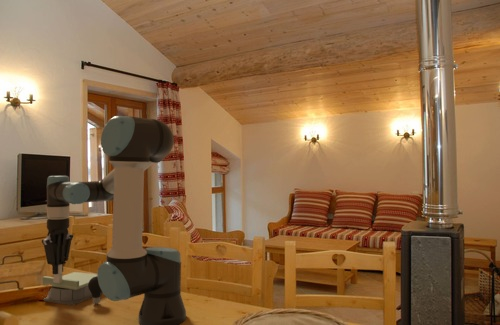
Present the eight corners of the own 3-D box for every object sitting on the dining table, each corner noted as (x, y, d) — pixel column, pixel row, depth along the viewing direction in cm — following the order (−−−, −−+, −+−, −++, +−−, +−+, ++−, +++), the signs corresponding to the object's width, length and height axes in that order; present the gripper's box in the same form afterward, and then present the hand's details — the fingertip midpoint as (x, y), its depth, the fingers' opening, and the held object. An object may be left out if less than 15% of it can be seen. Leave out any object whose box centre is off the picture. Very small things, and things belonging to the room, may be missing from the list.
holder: (103, 292, 162) (103, 280, 162) (72, 305, 147) (72, 292, 147) (71, 288, 168) (71, 276, 168) (38, 300, 153) (38, 287, 153)
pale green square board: (106, 278, 164) (106, 270, 164) (76, 289, 149) (76, 281, 149) (74, 274, 169) (74, 267, 169) (42, 285, 154) (42, 277, 154)
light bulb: (99, 307, 145) (99, 279, 145) (84, 306, 146) (84, 278, 146) (107, 302, 151) (107, 274, 151) (93, 301, 152) (93, 274, 152)
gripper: (63, 215, 158) (63, 276, 158) (35, 219, 146) (35, 286, 146) (79, 216, 156) (78, 278, 156) (52, 220, 144) (51, 288, 143)
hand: (57, 282), depth 151 cm, fingers closed
